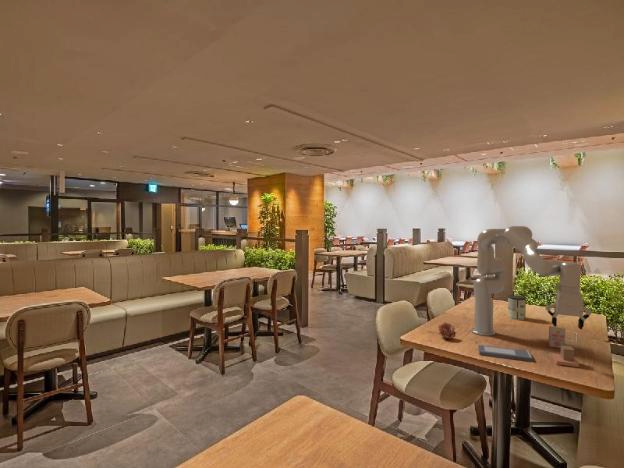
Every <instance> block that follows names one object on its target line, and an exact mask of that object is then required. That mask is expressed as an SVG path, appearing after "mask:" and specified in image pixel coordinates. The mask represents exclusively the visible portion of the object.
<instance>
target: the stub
mask: <svg viewBox="0 0 624 468" xmlns="http://www.w3.org/2000/svg"><path fill="white" fill-rule="evenodd" d="M551 358H552V360H553V361H554V362H555V364H556V365H558V366H559V365H560V366H566V367H567V366H568V367H575V368H579V366H580V365H579V362H578V361H577V360H576V359H575V349H574V348H573V347H572V346H569V345H565V346H562V345H561V348H560V354H559V353H553V352H552V353H551Z"/></svg>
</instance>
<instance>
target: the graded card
mask: <svg viewBox="0 0 624 468" xmlns="http://www.w3.org/2000/svg"><path fill="white" fill-rule="evenodd" d="M566 332H567V333H568V332H569V331H567V330H565V333H566ZM571 333H572V334H576V337H575V339H576V340H574V342H575V343H577V342H578V333H577V332H575V331H574V332H573V331H571ZM565 341H567V339H566V338H565ZM569 341H570V342H573V340H572V339H571V340H570V339H568V342H569Z"/></svg>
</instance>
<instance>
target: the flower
mask: <svg viewBox="0 0 624 468" xmlns="http://www.w3.org/2000/svg"><path fill="white" fill-rule="evenodd" d="M455 329H456V328H455V325H452V324H451V323H449V322H446V321H445V322H442V323H441V324H438V331H439V332H438V334H439V335H440V336H441V337H442V340H443V339H449V340H453V338H455V337H456V335H457V333H456V331H455Z"/></svg>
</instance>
